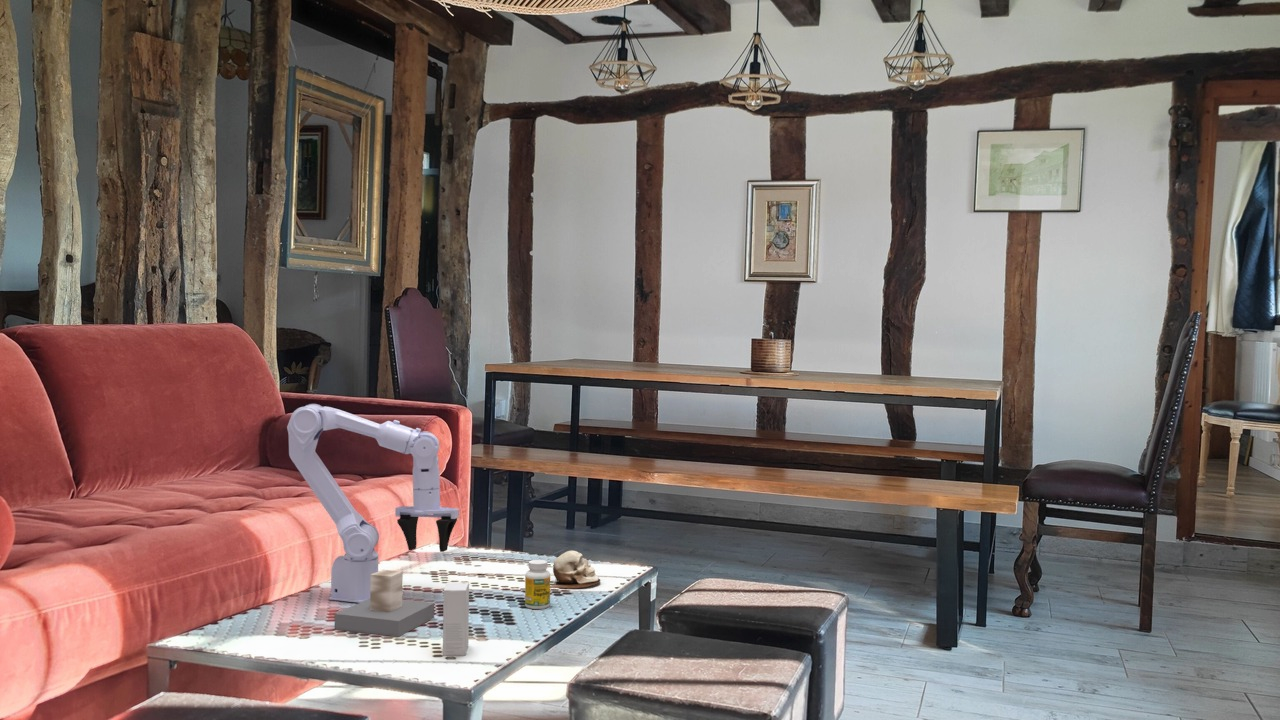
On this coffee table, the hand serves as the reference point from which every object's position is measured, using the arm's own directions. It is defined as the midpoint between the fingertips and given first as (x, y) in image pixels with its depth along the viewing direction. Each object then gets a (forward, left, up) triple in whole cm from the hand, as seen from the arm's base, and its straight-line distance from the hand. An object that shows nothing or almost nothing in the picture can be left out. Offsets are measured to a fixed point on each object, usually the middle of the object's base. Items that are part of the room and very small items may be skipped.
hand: (427, 550), depth 224 cm
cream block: (+2, -21, -7) cm, 22 cm away
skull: (+25, +24, -11) cm, 37 cm away
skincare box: (+23, -32, -11) cm, 41 cm away
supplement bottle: (+25, +2, -11) cm, 27 cm away
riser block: (+2, -21, -10) cm, 23 cm away
